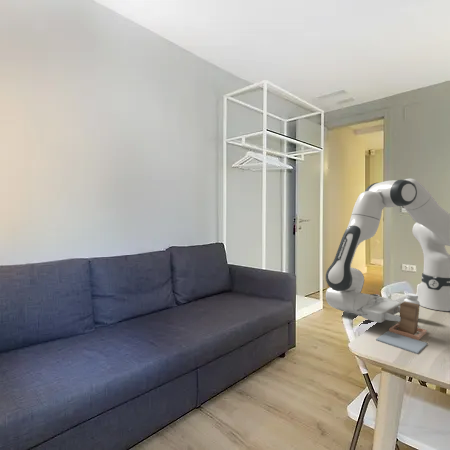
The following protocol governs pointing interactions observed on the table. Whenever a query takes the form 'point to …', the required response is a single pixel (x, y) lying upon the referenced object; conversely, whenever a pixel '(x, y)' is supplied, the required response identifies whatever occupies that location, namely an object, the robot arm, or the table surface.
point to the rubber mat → (402, 342)
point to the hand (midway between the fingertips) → (405, 316)
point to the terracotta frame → (422, 333)
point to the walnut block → (409, 317)
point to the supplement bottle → (412, 299)
